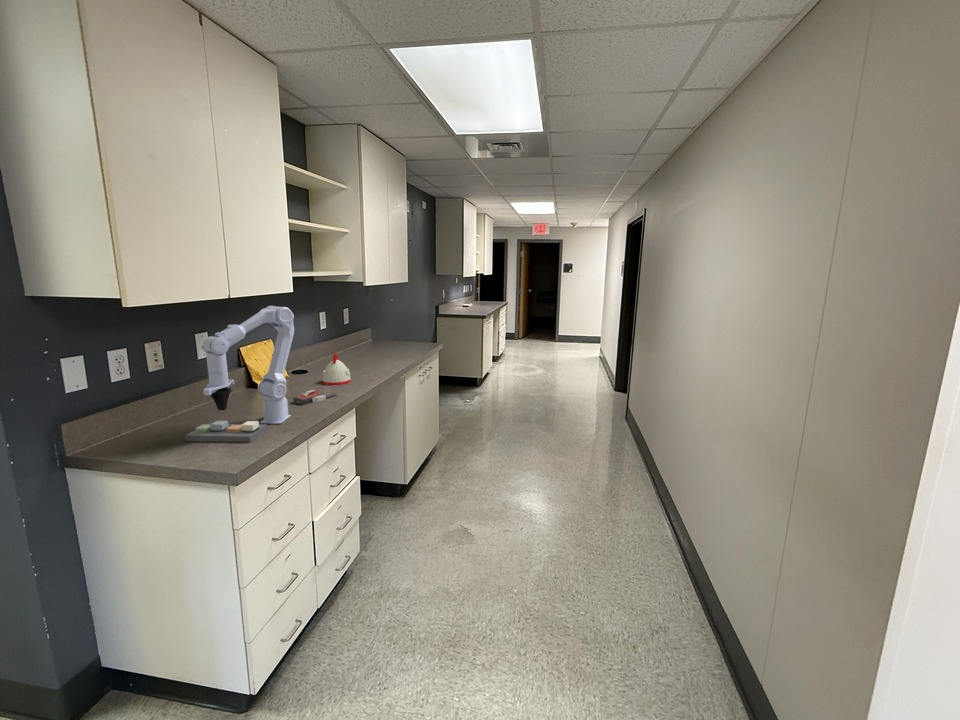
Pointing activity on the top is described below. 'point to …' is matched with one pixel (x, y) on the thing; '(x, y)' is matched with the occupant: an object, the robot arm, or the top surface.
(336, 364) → the kitchen timer
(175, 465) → the top surface
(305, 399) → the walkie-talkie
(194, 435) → the grey slotted tray
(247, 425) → the key ivory
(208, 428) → the key sage
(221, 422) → the key slate
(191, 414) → the top surface
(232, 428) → the key terracotta
